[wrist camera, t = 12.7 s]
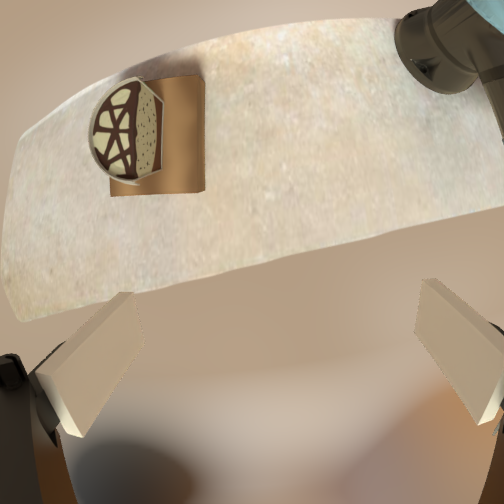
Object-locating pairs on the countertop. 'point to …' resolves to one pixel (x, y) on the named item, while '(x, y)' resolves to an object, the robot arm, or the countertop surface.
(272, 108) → the countertop surface
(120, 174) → the food container
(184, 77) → the walnut block
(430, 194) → the countertop surface
